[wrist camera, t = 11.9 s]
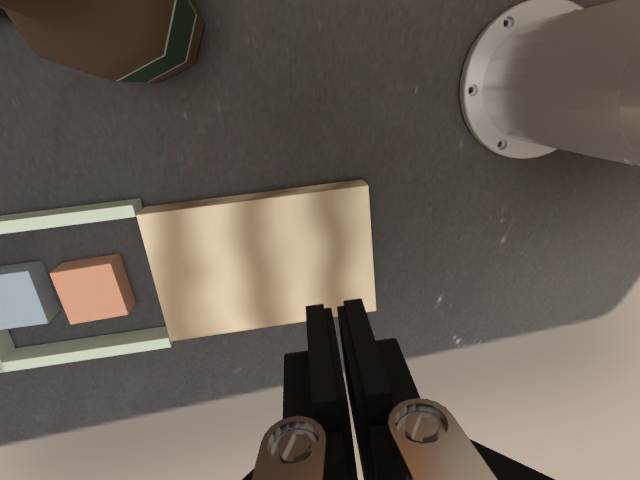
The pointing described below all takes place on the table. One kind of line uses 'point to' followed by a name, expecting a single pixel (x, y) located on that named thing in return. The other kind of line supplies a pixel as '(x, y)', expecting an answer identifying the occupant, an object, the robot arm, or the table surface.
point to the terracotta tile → (93, 288)
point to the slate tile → (26, 295)
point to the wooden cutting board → (259, 257)
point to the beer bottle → (112, 35)
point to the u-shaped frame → (8, 358)
